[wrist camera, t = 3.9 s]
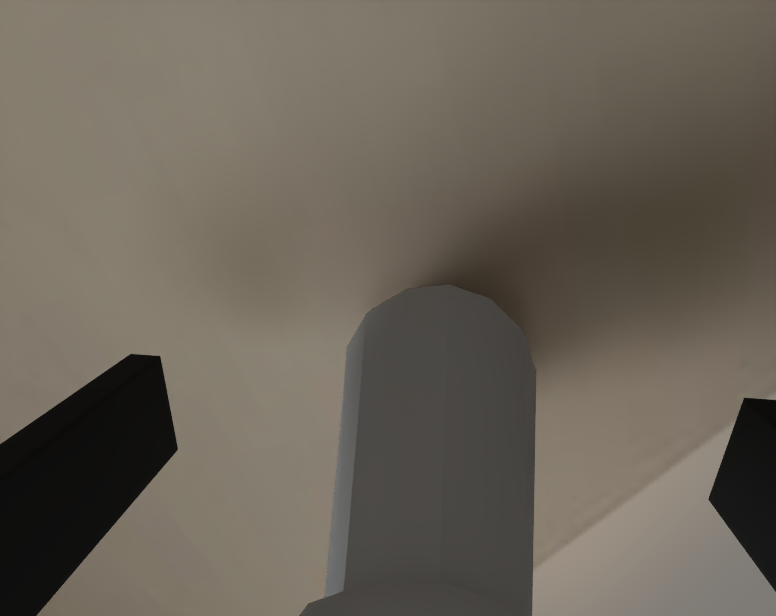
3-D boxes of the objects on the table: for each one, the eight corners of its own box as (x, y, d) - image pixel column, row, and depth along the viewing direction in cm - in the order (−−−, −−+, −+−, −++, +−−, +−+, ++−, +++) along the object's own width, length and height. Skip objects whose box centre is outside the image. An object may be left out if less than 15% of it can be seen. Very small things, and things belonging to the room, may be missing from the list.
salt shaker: (413, 435, 17) (333, 1101, 5) (327, 319, 16) (-34, 853, 4) (552, 369, 16) (899, 1133, 4) (469, 232, 14) (574, 716, 2)
